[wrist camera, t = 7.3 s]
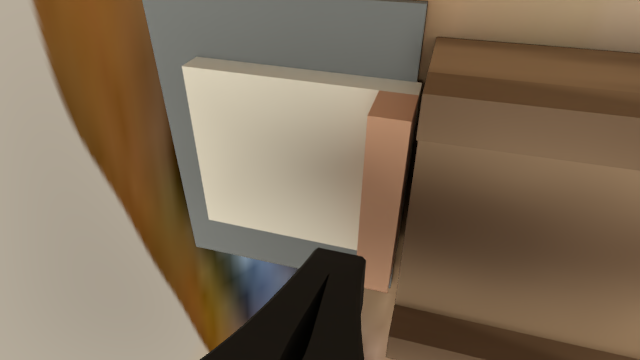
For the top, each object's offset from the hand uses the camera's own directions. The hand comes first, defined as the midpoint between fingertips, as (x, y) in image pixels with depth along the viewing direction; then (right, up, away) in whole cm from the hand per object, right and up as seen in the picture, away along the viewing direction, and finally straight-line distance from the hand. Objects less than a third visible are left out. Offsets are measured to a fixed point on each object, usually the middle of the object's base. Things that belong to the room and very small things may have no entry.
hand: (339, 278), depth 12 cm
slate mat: (-2, +4, +5) cm, 7 cm away
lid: (-1, +4, +5) cm, 6 cm away
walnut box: (+8, +2, +3) cm, 9 cm away
